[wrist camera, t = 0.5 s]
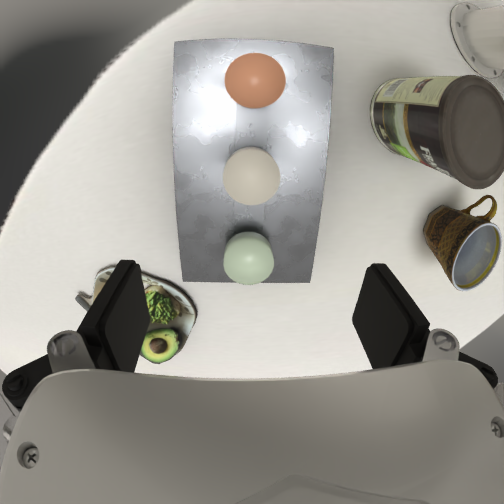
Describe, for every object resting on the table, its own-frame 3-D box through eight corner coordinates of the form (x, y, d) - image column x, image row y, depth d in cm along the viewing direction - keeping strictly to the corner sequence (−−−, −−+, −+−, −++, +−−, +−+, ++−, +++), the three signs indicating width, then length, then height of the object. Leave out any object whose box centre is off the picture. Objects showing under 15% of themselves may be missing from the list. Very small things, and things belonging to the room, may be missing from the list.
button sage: (270, 221, 33) (275, 242, 28) (268, 259, 35) (272, 285, 31) (225, 220, 33) (223, 241, 28) (226, 259, 35) (223, 284, 30)
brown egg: (278, 64, 24) (286, 54, 20) (276, 109, 27) (284, 109, 22) (228, 62, 24) (225, 52, 19) (226, 108, 26) (223, 107, 22)
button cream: (275, 144, 29) (282, 151, 24) (272, 189, 31) (278, 205, 26) (226, 142, 28) (223, 149, 24) (225, 188, 31) (222, 204, 26)
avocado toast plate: (77, 322, 43) (67, 340, 39) (86, 242, 35) (71, 258, 31) (174, 362, 47) (170, 382, 43) (208, 293, 40) (205, 314, 36)
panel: (325, 52, 25) (333, 48, 22) (305, 270, 38) (309, 282, 35) (180, 47, 24) (174, 41, 21) (186, 268, 37) (183, 281, 35)
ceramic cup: (447, 258, 38) (481, 293, 30) (404, 249, 37) (439, 289, 28) (475, 186, 32) (517, 211, 24) (434, 167, 31) (481, 190, 22)
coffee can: (421, 167, 31) (493, 205, 19) (358, 136, 30) (427, 160, 17) (443, 101, 27) (520, 115, 14) (382, 63, 25) (458, 51, 13)
